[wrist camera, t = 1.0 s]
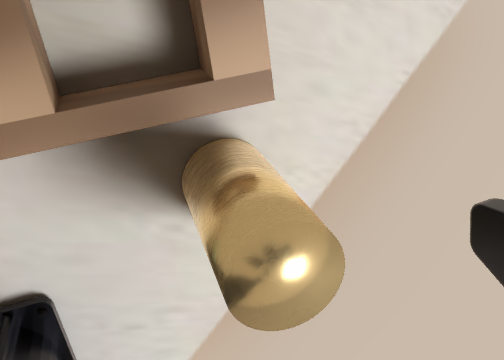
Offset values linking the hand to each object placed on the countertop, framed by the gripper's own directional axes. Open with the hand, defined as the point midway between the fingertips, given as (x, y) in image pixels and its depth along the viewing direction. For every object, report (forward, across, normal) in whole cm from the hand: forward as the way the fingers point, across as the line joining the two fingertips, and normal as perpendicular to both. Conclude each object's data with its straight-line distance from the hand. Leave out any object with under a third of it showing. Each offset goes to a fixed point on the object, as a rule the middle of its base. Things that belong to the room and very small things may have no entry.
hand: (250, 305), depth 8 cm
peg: (+13, -2, +4) cm, 14 cm away
